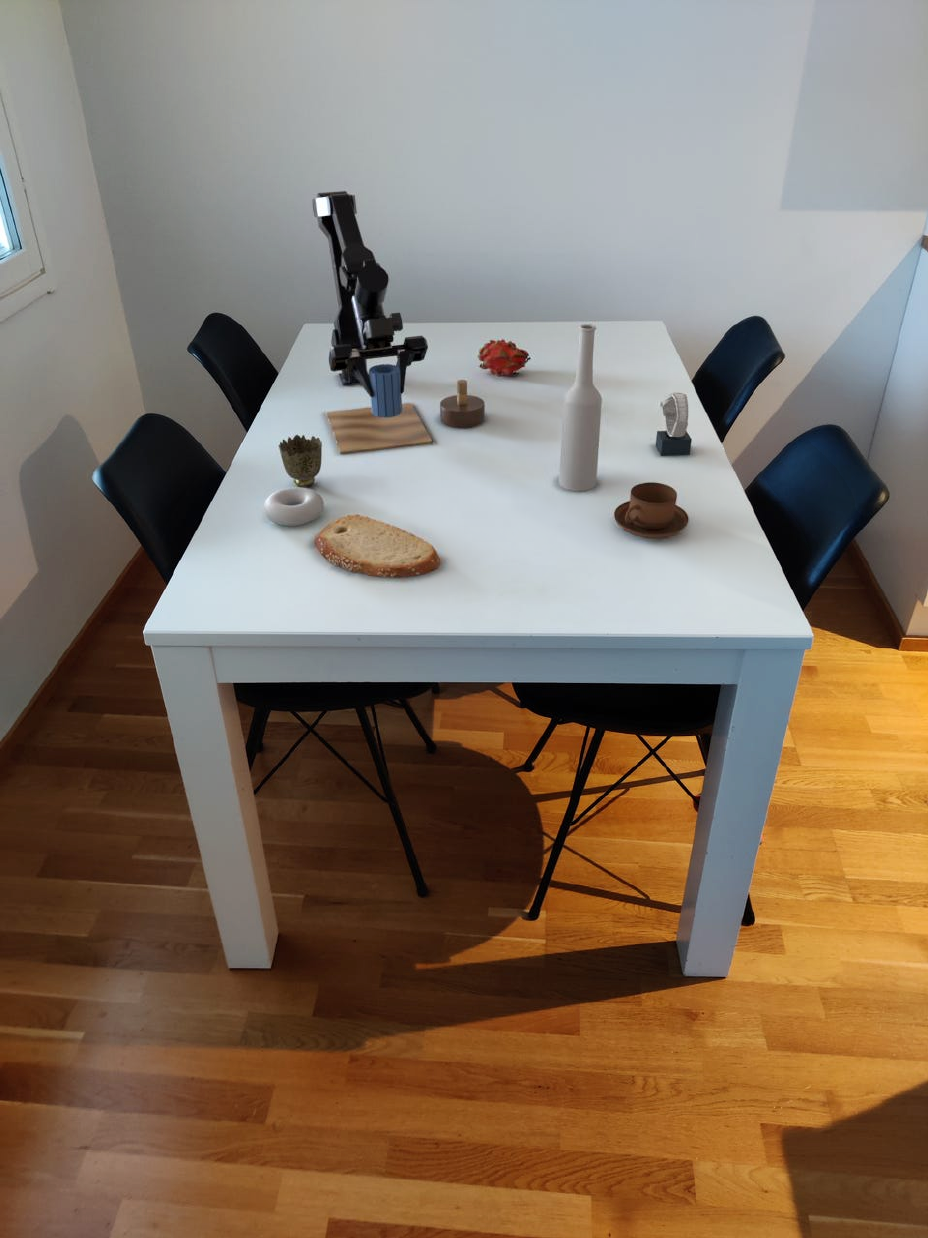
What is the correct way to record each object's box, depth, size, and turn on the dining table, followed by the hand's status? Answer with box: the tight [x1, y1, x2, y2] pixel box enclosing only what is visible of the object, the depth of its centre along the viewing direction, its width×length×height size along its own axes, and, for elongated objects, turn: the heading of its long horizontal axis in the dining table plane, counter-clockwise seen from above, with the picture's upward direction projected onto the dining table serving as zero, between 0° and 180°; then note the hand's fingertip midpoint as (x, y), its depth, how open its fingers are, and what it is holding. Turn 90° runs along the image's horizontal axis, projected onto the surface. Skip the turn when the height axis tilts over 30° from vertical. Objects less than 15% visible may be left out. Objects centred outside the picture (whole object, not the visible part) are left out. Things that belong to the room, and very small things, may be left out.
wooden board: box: [325, 402, 433, 455], centre depth 189 cm, size 20×18×1 cm
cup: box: [278, 434, 323, 488], centre depth 167 cm, size 8×7×8 cm
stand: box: [439, 379, 486, 429], centre depth 190 cm, size 9×9×8 cm
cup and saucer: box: [613, 481, 689, 539], centre depth 153 cm, size 12×12×6 cm
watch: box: [655, 392, 693, 457], centre depth 176 cm, size 6×8×11 cm
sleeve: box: [368, 363, 403, 418], centre depth 181 cm, size 6×6×8 cm
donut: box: [263, 486, 325, 527], centre depth 159 cm, size 10×4×10 cm
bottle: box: [558, 323, 603, 493], centre depth 160 cm, size 7×7×28 cm
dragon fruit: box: [477, 338, 531, 378], centre depth 211 cm, size 8×8×12 cm
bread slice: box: [313, 513, 442, 579], centre depth 148 cm, size 18×18×4 cm
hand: (387, 394), depth 180 cm, fingers closed on sleeve, 6 cm apart
